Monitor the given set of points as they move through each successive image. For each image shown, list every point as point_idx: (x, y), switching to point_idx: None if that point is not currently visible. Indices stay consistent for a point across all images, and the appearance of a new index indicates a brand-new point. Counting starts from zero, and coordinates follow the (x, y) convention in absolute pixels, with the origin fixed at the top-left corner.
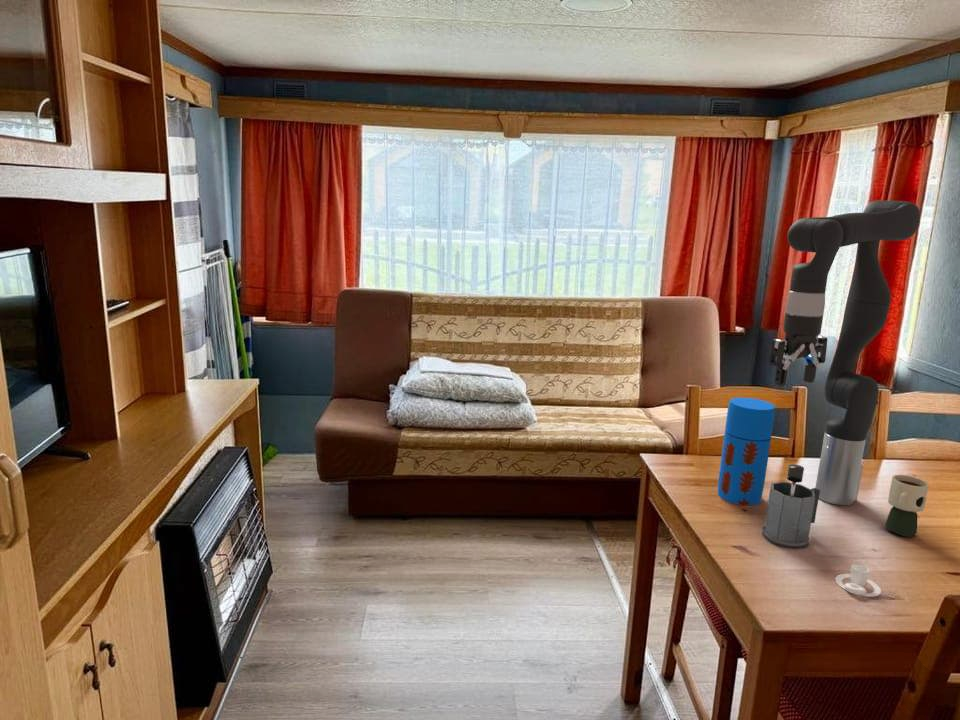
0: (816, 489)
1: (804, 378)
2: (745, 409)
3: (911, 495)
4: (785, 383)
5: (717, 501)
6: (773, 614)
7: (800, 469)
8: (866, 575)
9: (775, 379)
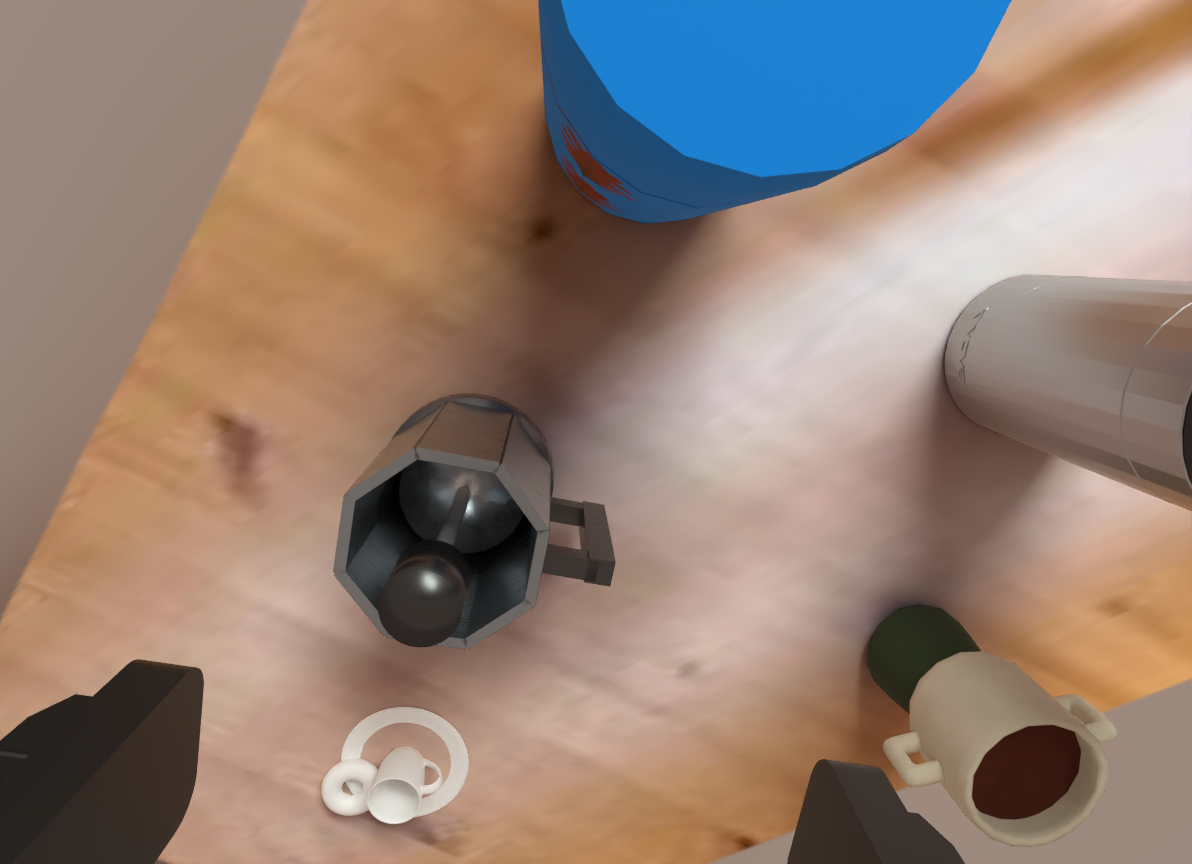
0: (601, 574)
1: (827, 789)
2: (557, 8)
3: (947, 790)
4: (165, 842)
5: (504, 102)
6: None
7: (405, 642)
8: (389, 815)
9: (16, 741)
